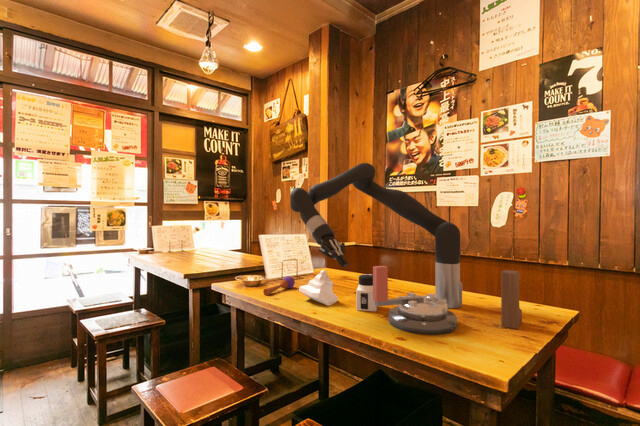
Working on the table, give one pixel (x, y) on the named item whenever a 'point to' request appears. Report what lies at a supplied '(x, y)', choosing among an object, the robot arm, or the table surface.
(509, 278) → the wooden block
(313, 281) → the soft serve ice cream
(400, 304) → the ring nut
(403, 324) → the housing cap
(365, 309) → the container
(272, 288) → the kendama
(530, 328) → the table surface
